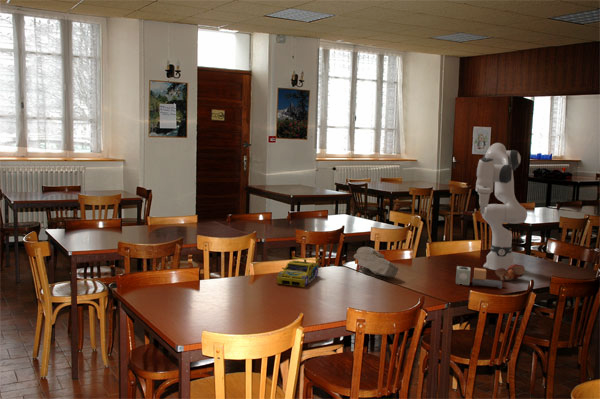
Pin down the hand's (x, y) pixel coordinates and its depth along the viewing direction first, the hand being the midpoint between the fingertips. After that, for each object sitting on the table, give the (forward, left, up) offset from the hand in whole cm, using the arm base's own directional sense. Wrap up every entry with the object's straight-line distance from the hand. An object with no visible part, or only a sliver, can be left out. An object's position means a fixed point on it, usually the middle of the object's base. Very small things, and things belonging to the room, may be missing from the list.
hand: (482, 213), depth 316 cm
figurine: (-11, +17, -38) cm, 43 cm away
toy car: (+39, -91, -38) cm, 106 cm away
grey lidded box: (+8, -8, -37) cm, 39 cm away
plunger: (+8, -8, -34) cm, 35 cm away
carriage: (+8, +1, -36) cm, 37 cm away
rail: (+8, +5, -37) cm, 38 cm away
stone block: (+7, -56, -37) cm, 68 cm away
